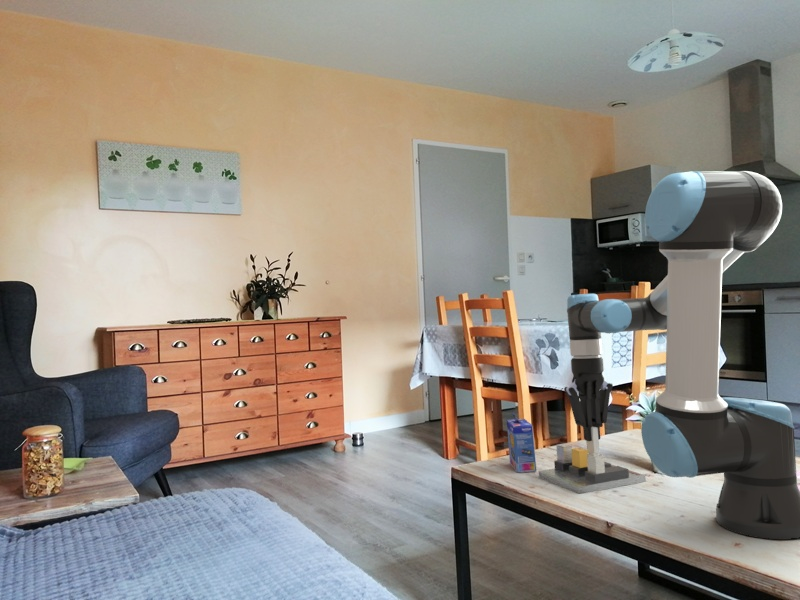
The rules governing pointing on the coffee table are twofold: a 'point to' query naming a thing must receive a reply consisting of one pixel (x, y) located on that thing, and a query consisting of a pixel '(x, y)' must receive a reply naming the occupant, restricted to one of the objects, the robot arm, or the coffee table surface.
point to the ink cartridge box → (521, 445)
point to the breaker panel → (588, 484)
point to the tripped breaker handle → (579, 457)
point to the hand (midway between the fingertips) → (593, 453)
